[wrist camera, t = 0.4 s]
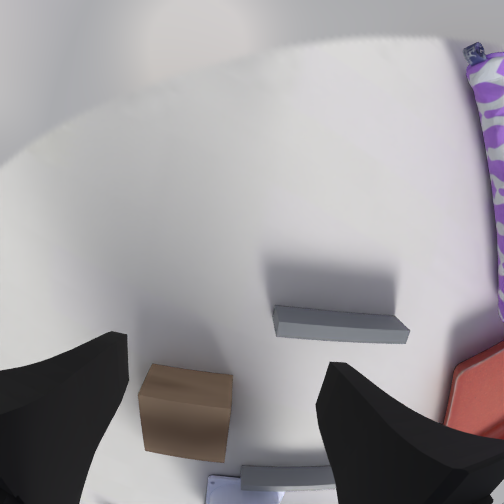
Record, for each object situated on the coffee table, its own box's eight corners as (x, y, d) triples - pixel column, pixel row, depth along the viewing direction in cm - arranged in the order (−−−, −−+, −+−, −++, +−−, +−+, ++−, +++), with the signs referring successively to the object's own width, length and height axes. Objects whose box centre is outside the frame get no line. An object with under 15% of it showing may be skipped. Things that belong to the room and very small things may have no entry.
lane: (329, 471, 24) (334, 488, 22) (240, 470, 24) (240, 490, 21) (394, 315, 20) (410, 330, 18) (275, 305, 20) (279, 321, 18)
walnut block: (226, 428, 23) (224, 462, 19) (156, 417, 22) (145, 450, 18) (232, 373, 21) (231, 408, 17) (152, 362, 21) (138, 394, 17)
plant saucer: (419, 466, 26) (428, 484, 23) (439, 355, 22) (458, 375, 19) (520, 408, 26) (532, 420, 22) (549, 295, 22) (568, 305, 18)
